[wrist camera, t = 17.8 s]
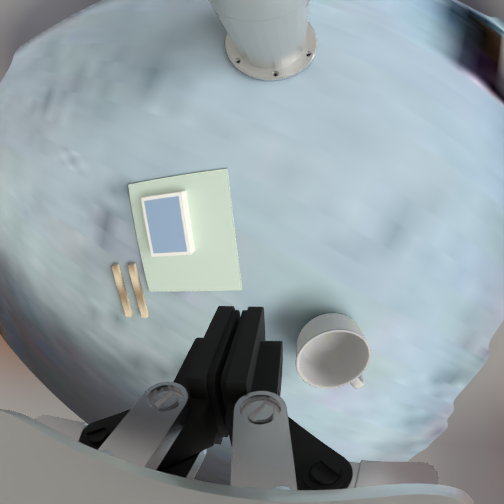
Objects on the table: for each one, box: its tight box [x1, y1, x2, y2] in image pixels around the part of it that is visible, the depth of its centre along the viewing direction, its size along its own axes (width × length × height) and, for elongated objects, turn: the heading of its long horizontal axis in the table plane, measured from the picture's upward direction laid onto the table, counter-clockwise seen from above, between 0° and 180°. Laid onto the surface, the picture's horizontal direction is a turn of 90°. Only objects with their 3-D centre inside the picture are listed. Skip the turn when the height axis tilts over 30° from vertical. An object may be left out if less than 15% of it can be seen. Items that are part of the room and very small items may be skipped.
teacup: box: [296, 313, 370, 389], centre depth 40 cm, size 14×11×8 cm
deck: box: [141, 190, 195, 257], centre depth 40 cm, size 9×2×6 cm
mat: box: [128, 169, 242, 291], centre depth 42 cm, size 18×16×1 cm
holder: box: [112, 263, 149, 318], centre depth 46 cm, size 10×5×1 cm, turn 6°
